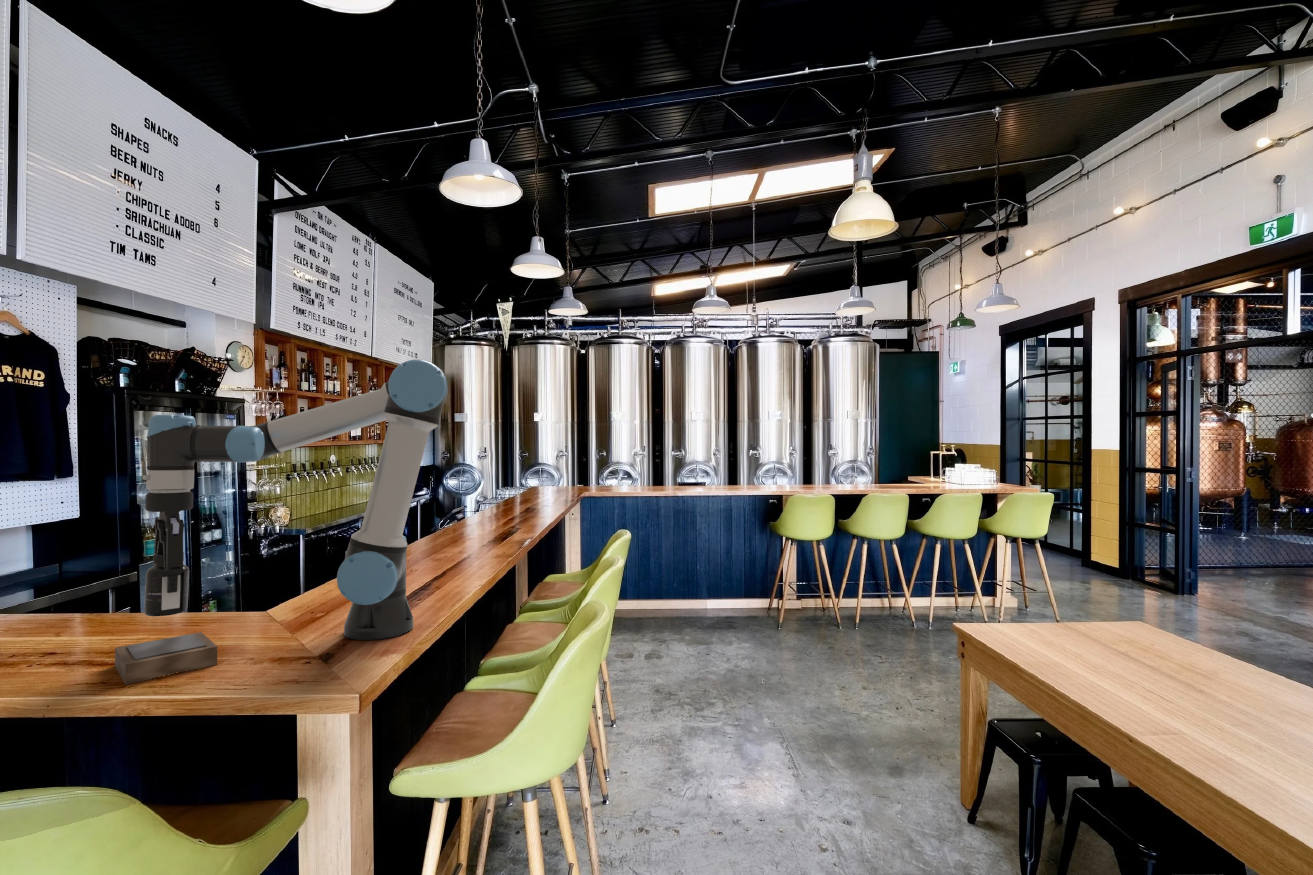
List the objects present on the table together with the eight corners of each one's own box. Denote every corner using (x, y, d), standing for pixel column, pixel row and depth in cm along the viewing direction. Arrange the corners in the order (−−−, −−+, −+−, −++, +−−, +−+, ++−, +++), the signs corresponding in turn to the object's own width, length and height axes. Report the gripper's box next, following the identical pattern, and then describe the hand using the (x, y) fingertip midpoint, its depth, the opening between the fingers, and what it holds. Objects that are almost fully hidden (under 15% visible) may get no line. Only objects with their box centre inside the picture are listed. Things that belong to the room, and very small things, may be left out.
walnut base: (200, 649, 130) (201, 630, 131) (217, 664, 121) (217, 644, 121) (114, 666, 120) (115, 646, 120) (125, 684, 111) (125, 662, 111)
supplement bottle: (144, 619, 116) (146, 557, 116) (143, 611, 121) (145, 552, 121) (189, 613, 120) (190, 553, 121) (186, 606, 126) (188, 548, 126)
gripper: (137, 489, 125) (134, 599, 125) (155, 494, 112) (151, 618, 111) (182, 487, 131) (179, 593, 130) (204, 492, 117) (201, 610, 117)
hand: (166, 604), depth 121 cm, fingers closed on supplement bottle, 7 cm apart
